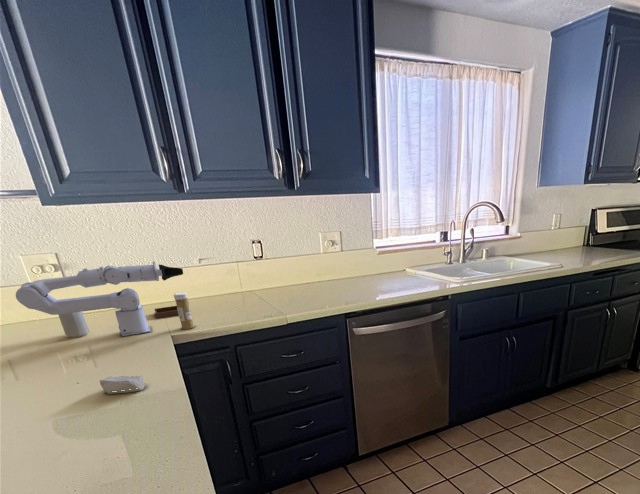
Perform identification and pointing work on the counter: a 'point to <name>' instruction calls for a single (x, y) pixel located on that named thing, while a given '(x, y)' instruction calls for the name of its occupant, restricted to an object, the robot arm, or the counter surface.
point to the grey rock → (122, 384)
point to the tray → (166, 312)
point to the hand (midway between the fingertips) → (181, 271)
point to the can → (74, 324)
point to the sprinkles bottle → (184, 310)
